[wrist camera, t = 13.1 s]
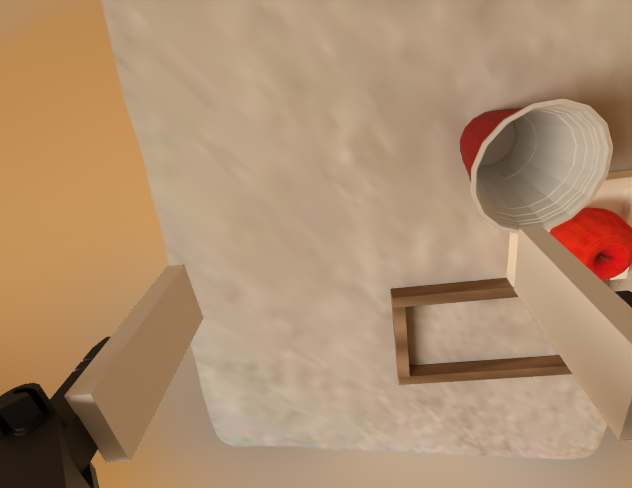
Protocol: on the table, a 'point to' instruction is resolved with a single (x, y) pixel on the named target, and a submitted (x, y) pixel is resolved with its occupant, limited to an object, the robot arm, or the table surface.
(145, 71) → the table surface
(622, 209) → the dish
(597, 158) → the plastic cup
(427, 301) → the pocket frame
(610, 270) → the apple
